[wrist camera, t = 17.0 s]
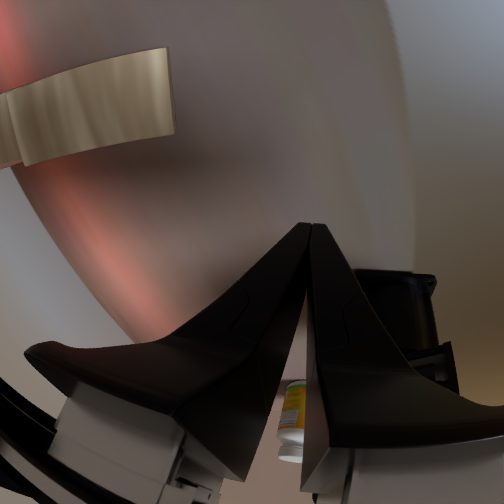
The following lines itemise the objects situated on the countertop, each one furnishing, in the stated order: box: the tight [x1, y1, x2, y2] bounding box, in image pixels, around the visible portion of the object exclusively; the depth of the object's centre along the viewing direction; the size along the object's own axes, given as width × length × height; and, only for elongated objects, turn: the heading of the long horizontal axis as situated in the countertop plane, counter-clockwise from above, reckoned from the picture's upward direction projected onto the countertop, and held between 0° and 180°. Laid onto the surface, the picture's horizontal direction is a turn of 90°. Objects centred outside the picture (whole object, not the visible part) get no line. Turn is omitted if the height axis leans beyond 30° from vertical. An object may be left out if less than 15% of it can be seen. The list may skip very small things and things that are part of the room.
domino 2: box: [6, 47, 176, 167], centre depth 14 cm, size 2×5×10 cm
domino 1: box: [0, 81, 36, 164], centre depth 15 cm, size 2×5×10 cm
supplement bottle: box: [277, 380, 306, 463], centre depth 32 cm, size 5×5×10 cm
